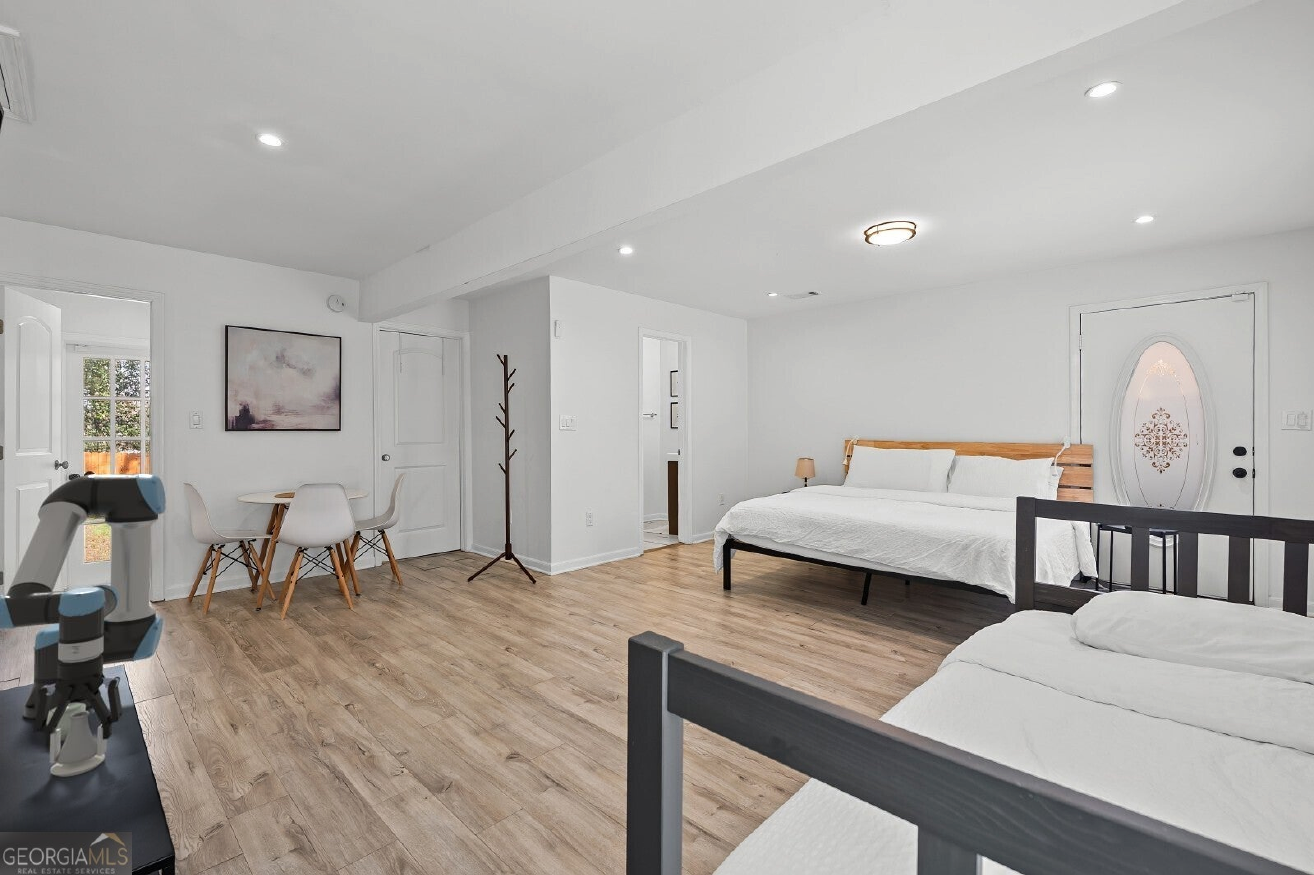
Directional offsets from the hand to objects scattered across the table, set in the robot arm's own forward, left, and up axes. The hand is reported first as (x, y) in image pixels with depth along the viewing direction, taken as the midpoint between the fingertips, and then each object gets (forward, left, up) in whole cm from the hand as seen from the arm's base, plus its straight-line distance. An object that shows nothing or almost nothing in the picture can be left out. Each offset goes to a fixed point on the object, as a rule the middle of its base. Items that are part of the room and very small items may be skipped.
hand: (78, 756), depth 138 cm
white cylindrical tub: (-20, -9, -3) cm, 22 cm away
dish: (0, 0, -3) cm, 3 cm away
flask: (0, 0, 0) cm, 0 cm away
